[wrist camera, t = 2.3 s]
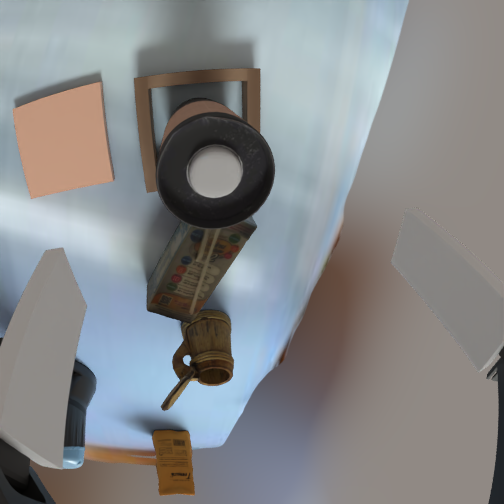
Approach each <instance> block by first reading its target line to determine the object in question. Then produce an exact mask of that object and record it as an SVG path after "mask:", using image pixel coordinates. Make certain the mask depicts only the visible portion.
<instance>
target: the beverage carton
mask: <svg viewBox="0 0 504 504" xmlns="http://www.w3.org/2000/svg"><path fill="white" fill-rule="evenodd" d="M256 228H257V225H256V223H255V221H254V220H253V217H252V216H251V217H249V218H248V219H246V220H245V221H243V222H241V223H239V224H236V225H234V226H231V227H227V228H222V229H202V228H197V227H194V226H191V225H188V224H186V223H184V222H182V221H181V223H180V224H179V226H178V228H177V230H176V231H175V233H174V235H173V237H172V239H171V240H170V242H169V244H168V245H167V247H166V249H165V251H164V253H163V255H162V257H161V258H160V260H159V262H158V264H157V266H156V268H155V270H154V272H153V274H152V276H151V278H150V281H149V283H148V285H147V311H149V312H153V313H157V314H160V315H163V316H166V317H169V318H172V319H177V320H180V321H183V322H186V323H189V324H191V323H192V321H193V320H194V318H195V317H196V316H197V314H198V313H199V311H200V310H201V308H202V307H203V305H204V304H205V302H206V301H207V300H208V298H209V297H210V295H211V294H212V292H213V290H214V289H215V288H216V286H217V285H218V283H219V282H220V280H221V279H222V277H223V276H224V275H225V273H226V271H227V270H228V269H229V267H230V266H231V264H232V263H233V261H234V260H235V258H236V257H237V255H238V254H239V252H240V251H241V249H242V248H243V246H244V245H245V243H246V241H247V240H248V239H249V238H250V236H251V235H252V233H253V232H254V231H255V230H256Z"/></svg>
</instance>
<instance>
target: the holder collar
mask: <svg viewBox="0 0 504 504" xmlns="http://www.w3.org/2000/svg"><path fill="white" fill-rule="evenodd" d="M223 81H242V116H243V120H244V121H246V122H247V123H248V124H250V125H251V126H252V127H253V128H255V129H256V130H257V131H258V132H259V133H260V69H257V68H244V69H212V70H197V71H186V72H176V73H167V74H159V75H152V76H146V77H139V78H134V86H135V99H136V111H137V121H138V131H139V140H140V148H141V156H142V163H143V170H144V177H145V184H146V190H147V193H148V192H155V191H158V190H157V185H156V176H155V174H156V164H157V152H156V143H155V133H154V123H153V111H152V98H151V88H157V87H165V86H173V85H182V84H193V83H206V82H223Z"/></svg>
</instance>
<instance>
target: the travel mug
mask: <svg viewBox="0 0 504 504" xmlns="http://www.w3.org/2000/svg"><path fill="white" fill-rule="evenodd" d="M155 176H156V185H157V190H158V193H159V196H160V198H161V200H162V202H163V204H164V205H165V206H166V208H167V209H168V210H169V211H170V212H171V213H172V214H173V215H174V216H175V217H176V218H178V219H179V220H181V221H182V222H184V223H186V224H188V225H191V226H194V227H197V228H202V229H222V228H227V227H231V226H234V225H236V224H239V223H241V222H243V221H245V220H246V219H248V218H249V217H251V216H252V215H253V214H254V213H255V212H257V211H258V210H259V208H260V207H261V206H262V205H263V204H264V202H265V201H266V199H267V197H268V196H269V194H270V191H271V189H272V186H273V182H274V176H275V164H274V158H273V155H272V152H271V149H270V147H269V145H268V143H267V142H266V140H265V139H264V137H263V136H262V135H261V134H260V133H259V132H258V131H257V130H256V129H255V128H253V127H252V126H251V125H250V124H248V123H247V122H246V121H244V120H243V119H242V118H241V117H239V116H238V115H237V114H235V113H234V112H233V111H231V110H230V109H229V108H227V107H226V106H224V105H222V104H220V103H217V102H215V101H212V100H209V99H205V98H195V99H191V100H188V101H186V102H184V103H182V104H181V105H180V106H179V107H178V108H177V109H176V110H175V111H174V113H173V114H172V116H171V118H170V120H169V122H168V123H167V126H166V128H165V132H164V135H163V139H162V143H161V147H160V151H159V156H158V160H157V164H156V174H155Z"/></svg>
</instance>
